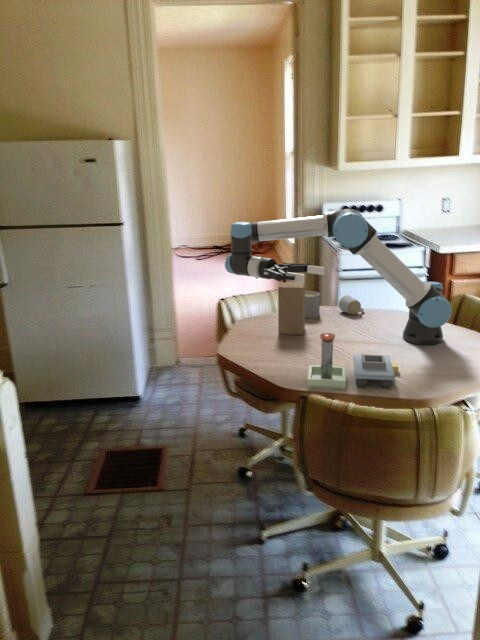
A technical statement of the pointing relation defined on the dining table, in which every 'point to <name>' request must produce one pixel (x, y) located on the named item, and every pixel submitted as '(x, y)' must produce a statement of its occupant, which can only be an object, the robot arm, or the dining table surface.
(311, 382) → the tray
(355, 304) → the ceramic mug
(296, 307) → the wooden block
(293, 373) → the dining table surface
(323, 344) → the pin
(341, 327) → the dining table surface
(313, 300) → the grey cylindrical piece
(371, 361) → the cart
